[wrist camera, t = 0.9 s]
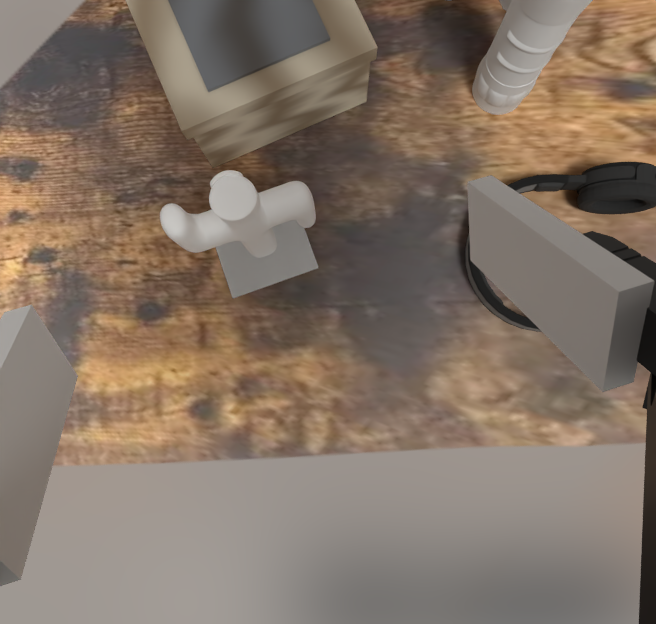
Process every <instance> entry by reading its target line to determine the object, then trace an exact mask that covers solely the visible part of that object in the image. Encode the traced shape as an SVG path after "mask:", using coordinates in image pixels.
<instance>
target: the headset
mask: <svg viewBox="0 0 656 624" xmlns="http://www.w3.org/2000/svg"><path fill="white" fill-rule="evenodd" d="M507 186H509V187H510V188H512V189H513V190H515V191H516V192H518V193H519V194H520V193H524V192H528V191H532V190H534V191H537V192H540V191H559V190H576V191H577V192H578V194H579V196H578V198H577V203H578V206H579V208H580V209H581V210H584V211H587V212H591V213H598V214H626V213H634V212H640V211H644V210H647V209H650V208H653V207H655V206H656V166H654V165H651V164H648V163H641V162H617V163H609V164H603V165H599V166H595V167H592V168H590V169H587V170H586V171H584V172H583V173H582V175H557V174H551V175H536V176H532V177H528V178H523V179H521V180H518V181H516V182H514V183H511V184H509V185H507ZM465 260H466V269H467V273H468V278H469V280H470V283H471V285H472V287H473V289H474V292H475V293H476V295H477V296H478V298H479V299H480V300H481V302H482V303H483V305H485V306H486V307H487V308H488V309H489V310H490V311H491V312H492V313H493V314H494V315H496V316H497V317H499V318H500V319H502V320H503V321H505V322H507V323H509V324H511V325H514V326H516V327H519V328H522V329H527V330H532V331H539V332H542V331H541V330H540V329H539V328H538V327H537V326H536V325H535V324H534V323H533V322H532V321H531V320H530V319H528V318H526V317H524V316H521V315H519V314H516V313H515V312H513V311H511V310H510V309H508V308H507V307H505V306H504V305H503V302H502V300H501V299H500V298H499V297H498V296H497V295H496V294H495V293H494V292H493V290H492V289H491V287H490V286H489V284H488V282H487V280H486V278H485V276H484V273H483V272H482V271H481V270H480V269H479V268H478V267H477V266H476V265H475V264H474V263H473V262H472V261H471V260H470V236H469V235H468V238H467V244H466V249H465Z"/></svg>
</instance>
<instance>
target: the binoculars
mask: <svg viewBox="0 0 656 624" xmlns="http://www.w3.org/2000/svg"><path fill="white" fill-rule="evenodd" d="M447 1H450V0H447ZM499 1H500V3H501V5H502V7H503V9H504V10H506V11H507V12H506V14H505V16H504V18H503V21H502V23H501V25H500V27H499V29H498V31H497V34H496V36H495V38H494V40H493V42H492V44H491V46H490V48H489V50H488V52H487V54H486V55H485V56H484V57H483V59H482V60H481V62H480V64H479V66H478V69H477V72H476V78H475V80H474V82H473V86H472V94H473V97H474V100H475V102H476V103H477V105H478V106H479V107H480V108H481V109H483V110H484V111H486V112H488V113H491V114H497V115H500V114H506V113H509V112H511V111H513V110H514V109H516V108H517V107H518V105H519V104H520V103H521V101H522V100H523V99H524V98H525V97H526V96H527V95H528V94H529V93H530V91H531V90H532V88H533V87H534V85H535V82H536V79H537V78H538V76H539V74H540V73H541V70H542V69H543V67H544V66H545V65H546V64H547V63H548V62H549V60H550V58H551V57H552V54H553V52H554V51H555V49H556V48H557V47H558V46H559V45H560V44H561V42H562V41H563V39H564V38H565V36H566V33H567V31H568V30H569V28H570V27H571V26H572V24H573V23H574V21H575V20H576V18H577V17H578V15H579V14H580V13H581V12H582V11H583V10H584V9H585V8H586V7H587V6H588V5H589V4H590V3H591V2H592V1H593V0H499Z"/></svg>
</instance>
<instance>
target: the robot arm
mask: <svg viewBox="0 0 656 624" xmlns="http://www.w3.org/2000/svg"><path fill="white" fill-rule="evenodd" d="M468 209H469V236H470V260H471V261H472V262H473V263H474V264H475V265H476V266H477V267H478V268H479V269H480V270H481V271H482V272H483V273H484V274H485V275H486V276H487V277H488V278H489V279H490V280H491V281H492V282H493V283H494V284H495V285H496V286H497V287H498V288H499V289H500V290H501V291H502V292H503V293H504V294H505V295H506V296H507V297H508V298H509V299H510V300H511V301H512V302H513V303H514V304H515V305H516V306H517V307H518V308H519V309H520V310H521V311H522V312H523V313H524V314H525V315H526V316H527V317H528V318H529V319H530V320H531V321H532V322H533V323H534V324H535V325H536V326H537V327H538V328H539V329H540V330H541V331H542V332H543V333H544V334H545V335H546V336H547V337H548V338H549V339H550V340H551V341H552V342H553V343H554V344H555V345H556V346H557V347H558V348H559V349H560V350H561V351H562V352H563V353H564V354H565V355H566V356H567V357H568V358H569V359H570V360H571V361H572V362H573V363H574V364H575V365H576V366H577V367H578V368H579V369H580V370H581V371H582V372H583V373H584V374H585V375H586V376H587V377H588V378H589V379H590V380H591V381H592V382H593V383H594V384H595V385H596V386H597V387H598V388H599V389H600V390H601V391H602V392H604V391H607V390H610V389H613V388H617V387H620V386H623V385H626V384H629V383H632V382H634V377H635V372H636V368H637V363H638V362H639V363H640V364H641V365H643V366H644V367H645V368H646V369H647V370H649V371H650V372H651V374H650V378H649V383H648V387H647V391H646V395H645V400H644V404H643V408H645V409H647V427H646V452H645V453H646V454H645V480H644V504H643V530H642V531H643V532H642V555H641V581H640V608H639V624H656V263H654V262H653V261H651V260H649V259H648V258H646V257H645V256H643V257H641V254H640V253H638V252H636V251H635V250H633V249H629V248H628V246H626V245H625V244H623V243H621V242H620V241H618V240H617V239H615V238H613V237H610V236H607V235H603V234H600V233H596V232H593V231H591V232H588V233H584V234H581V233H580V232H578V231H577V230H575V229H574V228H572V227H570V226H569V225H567V224H566V223H564V222H563V221H561V220H560V219H558V218H557V217H555V216H553V215H552V214H550V213H549V212H547V211H546V210H544V209H543V208H541V207H540V206H538V205H536V204H535V203H533V202H532V201H530V200H529V199H527V198H526V197H524V196H522V195H521V194H519V193H518V192H516V191H515V190H513V189H512V188H510V187H509V186H507V185H505V184H504V183H502V182H501V181H499V180H498V179H496V178H495V177H493V176H492V175H490V176H487V177H483V178H480V179H476V180H473V181H469V182H468ZM77 377H78V375H77V374H76V372H75V371H74V369H73V368H72V366H71V365H70V363H69V362H68V360H67V358H66V357H65V355H64V354H63V352H62V351H61V349H60V348H59V346H58V344H57V343H56V341H55V340H54V338H53V337H52V335H51V334H50V332H49V331H48V329H47V327H46V326H45V324H44V323H43V321H42V320H41V318H40V317H39V315H38V314H37V312H36V310H35V309H34V307H33V306H32V305H29V306H25V307H22V308H18V309H14V310H11V311H7V312H4V314H3V316H2V318H1V319H0V586H2V585H5V584H8V583H11V582H14V581H18V580H20V579H21V576H22V573H23V569H24V566H25V562H26V559H27V555H28V551H29V547H30V544H31V541H32V537H33V533H34V530H35V526H36V523H37V519H38V516H39V512H40V509H41V505H42V501H43V498H44V494H45V491H46V487H47V483H48V480H49V477H50V473H51V469H52V466H53V462H54V459H55V455H56V452H57V448H58V444H59V441H60V437H61V434H62V430H63V427H64V423H65V420H66V416H67V412H68V409H69V405H70V402H71V398H72V395H73V391H74V387H75V384H76V380H77Z"/></svg>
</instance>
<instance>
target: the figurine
mask: <svg viewBox="0 0 656 624" xmlns="http://www.w3.org/2000/svg"><path fill="white" fill-rule="evenodd" d="M210 186H211V188H212V189H211V191H210V194H209V203H210V206H211V209H212V210H209V211H206V212H203V213H200V214H190V213H187V212H186V211H185V210H184V209H182V208H181V207H180V206H179V205H177V204H173V203H170V204H167V205H165V206H164V207H163V208H162V210H161V212H160V221H161V225H162V228H163V230H164V232H165V233H166V234H167V236H168V237H170V238H171V239H172V240H173V241H174V242H176V243H177V244H178V245H180V246H181V247H182V248H184V249H185V250H187V251H189V252H194V253H198V252H203V251H206V250H209V249H212V248H214V247H215V248H216V251H217V254H218V257H219V260H220V263H221V265H222V268H223V271H224V274H225V277H226V280H227V283H228V286H229V289H230V292H231V295H232V298H236V297H239V296H241V295H244V294H247V293H250V292H253V291H255V290H258V289H261V288H264V287H267V286H269V285H272V284H275V283H278V282H281V281H283V280H286V279H289V278H292V277H295V276H297V275H300V274H303V273H306V272H309V271H312V270H314V269H317V268H319V267H318V265H317V262H316V259H315V256H314V254H313V251H312V248H311V245H310V242H309V240H308V237H307V234H306V231H305V229H304V228H309V227H311V226H312V225H313V224H314V223H315V220H316V213H315V206H314V200H313V197H312V194H311V192H310V190H309V188H308V187H307V185H306V184H304V183H303V182H301V181H292V182H288V183H285V184H282V185H280V186H277V187H274V188H271V189H268V190H265V191H263V192H260V193H258V192H257V190H256V189H255V187H254V185H253V184H252V183H251V182H250V181H249V180H248V179H247V178H245V177H243V175H242V173H240V172H238V171H234V170H226V171H222V172H220V173H218V174H217V175H216V176H214V177H213V179H212V180H211V181H210Z"/></svg>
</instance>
